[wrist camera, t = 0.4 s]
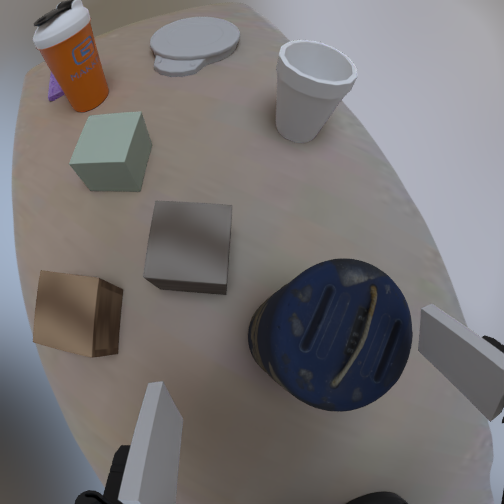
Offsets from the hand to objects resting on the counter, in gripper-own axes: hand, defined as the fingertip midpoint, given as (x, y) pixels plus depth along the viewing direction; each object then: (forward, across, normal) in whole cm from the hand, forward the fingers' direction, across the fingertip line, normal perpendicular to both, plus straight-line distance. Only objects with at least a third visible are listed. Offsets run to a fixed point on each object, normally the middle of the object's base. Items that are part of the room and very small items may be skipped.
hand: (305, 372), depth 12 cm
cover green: (+28, +14, -15) cm, 35 cm away
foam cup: (+31, -11, -15) cm, 36 cm away
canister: (+17, -2, +9) cm, 19 cm away
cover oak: (+21, +7, -1) cm, 22 cm away
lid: (+42, +1, -37) cm, 56 cm away
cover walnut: (+18, +20, +2) cm, 27 cm away
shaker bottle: (+36, +21, -30) cm, 51 cm away
